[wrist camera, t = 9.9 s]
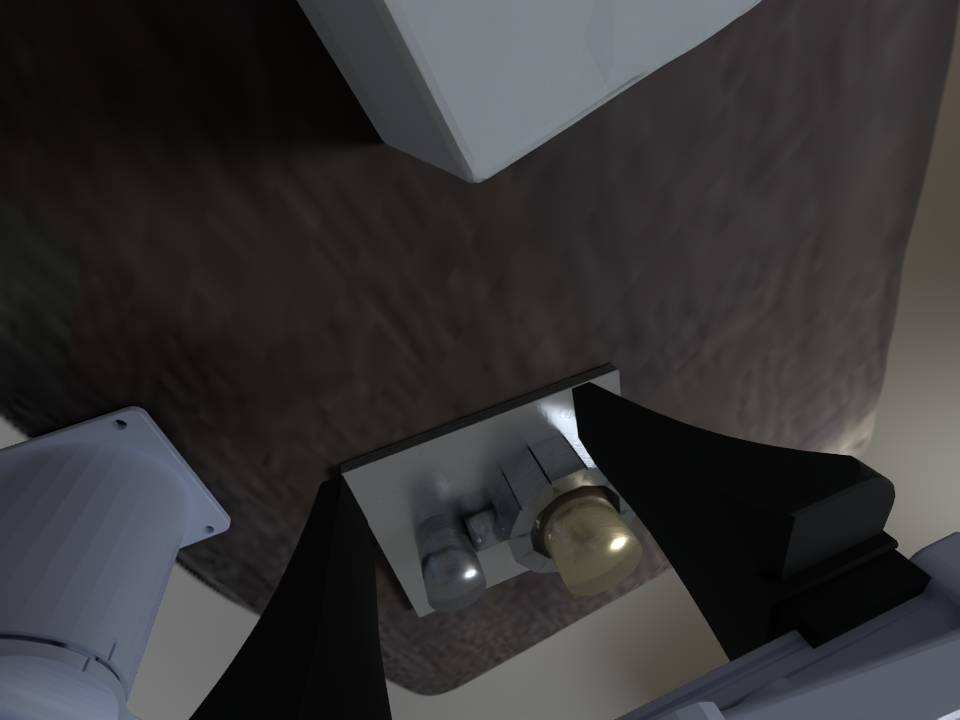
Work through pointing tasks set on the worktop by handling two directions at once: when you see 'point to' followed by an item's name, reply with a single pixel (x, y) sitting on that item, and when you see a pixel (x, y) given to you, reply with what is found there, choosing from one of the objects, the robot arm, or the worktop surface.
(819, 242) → the worktop surface
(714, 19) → the small box
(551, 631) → the worktop surface
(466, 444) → the manifold plate
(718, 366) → the worktop surface
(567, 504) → the brass rounded plug
